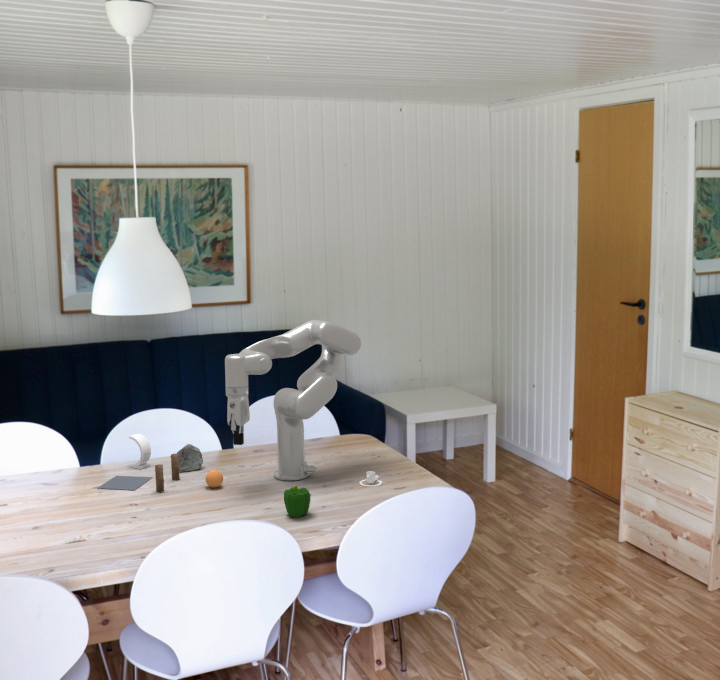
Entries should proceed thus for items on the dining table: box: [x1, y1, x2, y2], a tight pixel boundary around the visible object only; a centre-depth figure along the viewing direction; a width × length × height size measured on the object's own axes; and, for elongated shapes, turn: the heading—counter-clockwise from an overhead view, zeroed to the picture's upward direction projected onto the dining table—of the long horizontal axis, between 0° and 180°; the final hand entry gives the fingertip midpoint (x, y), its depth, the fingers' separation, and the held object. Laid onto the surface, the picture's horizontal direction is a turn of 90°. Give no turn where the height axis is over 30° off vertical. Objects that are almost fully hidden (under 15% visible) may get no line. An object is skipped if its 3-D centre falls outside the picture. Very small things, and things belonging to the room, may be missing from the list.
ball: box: [205, 469, 224, 489], centre depth 279 cm, size 6×6×6 cm
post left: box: [154, 464, 165, 493], centre depth 276 cm, size 3×3×9 cm
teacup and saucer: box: [359, 470, 383, 487], centre depth 282 cm, size 9×8×4 cm
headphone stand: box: [128, 433, 152, 470], centre depth 304 cm, size 5×6×12 cm
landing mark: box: [96, 475, 154, 491], centre depth 285 cm, size 14×14×1 cm
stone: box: [176, 443, 204, 473], centre depth 301 cm, size 10×10×10 cm
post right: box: [170, 453, 180, 481], centre depth 288 cm, size 3×3×9 cm
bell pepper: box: [283, 484, 311, 518], centre depth 251 cm, size 8×8×10 cm
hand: (238, 444), depth 275 cm, fingers closed
